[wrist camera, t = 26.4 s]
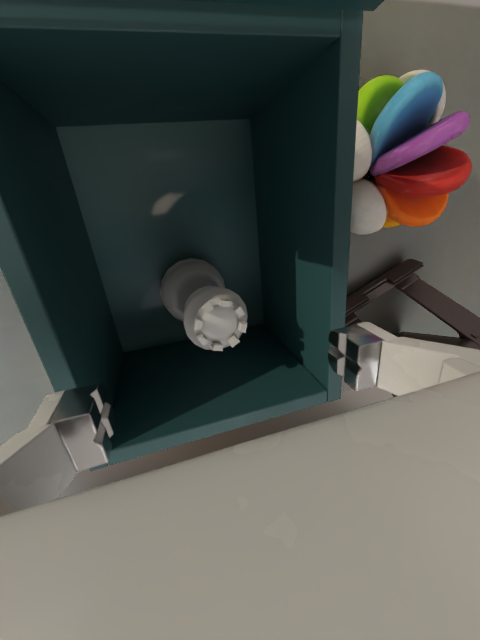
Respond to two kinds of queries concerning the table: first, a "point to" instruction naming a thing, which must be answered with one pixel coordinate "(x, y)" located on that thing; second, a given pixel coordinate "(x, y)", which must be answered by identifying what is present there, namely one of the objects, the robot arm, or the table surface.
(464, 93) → the table surface
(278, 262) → the teal hinged box
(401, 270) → the tablet stand
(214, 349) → the rook chess piece
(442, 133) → the multicoloured rounded lobed piece
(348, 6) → the lid
